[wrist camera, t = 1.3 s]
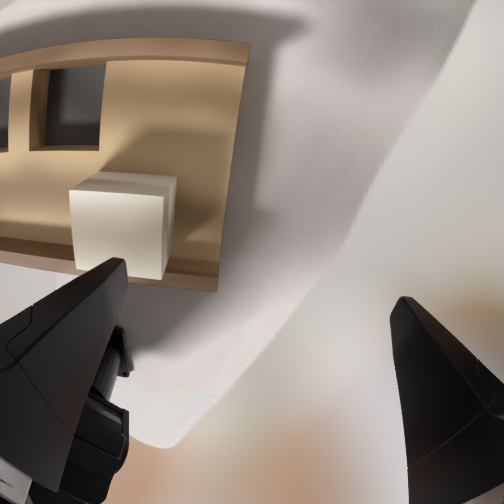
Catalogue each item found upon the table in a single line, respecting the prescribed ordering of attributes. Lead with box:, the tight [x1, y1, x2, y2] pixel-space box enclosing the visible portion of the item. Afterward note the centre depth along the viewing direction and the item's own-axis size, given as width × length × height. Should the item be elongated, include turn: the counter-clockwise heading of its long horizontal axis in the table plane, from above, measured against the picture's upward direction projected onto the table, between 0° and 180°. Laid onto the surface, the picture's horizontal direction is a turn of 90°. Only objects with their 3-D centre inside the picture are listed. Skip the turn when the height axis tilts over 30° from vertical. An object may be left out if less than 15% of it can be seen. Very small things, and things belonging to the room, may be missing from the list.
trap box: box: [0, 37, 250, 292], centre depth 16 cm, size 14×25×4 cm, turn 82°
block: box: [69, 171, 177, 280], centre depth 16 cm, size 4×5×4 cm
